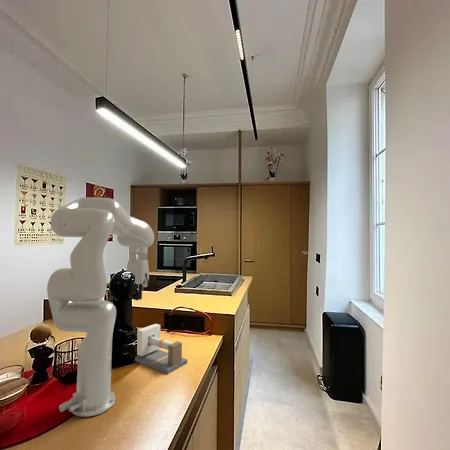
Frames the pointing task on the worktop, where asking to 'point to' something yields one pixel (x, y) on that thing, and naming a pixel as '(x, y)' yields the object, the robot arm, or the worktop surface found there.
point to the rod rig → (163, 356)
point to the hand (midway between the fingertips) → (137, 299)
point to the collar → (142, 339)
